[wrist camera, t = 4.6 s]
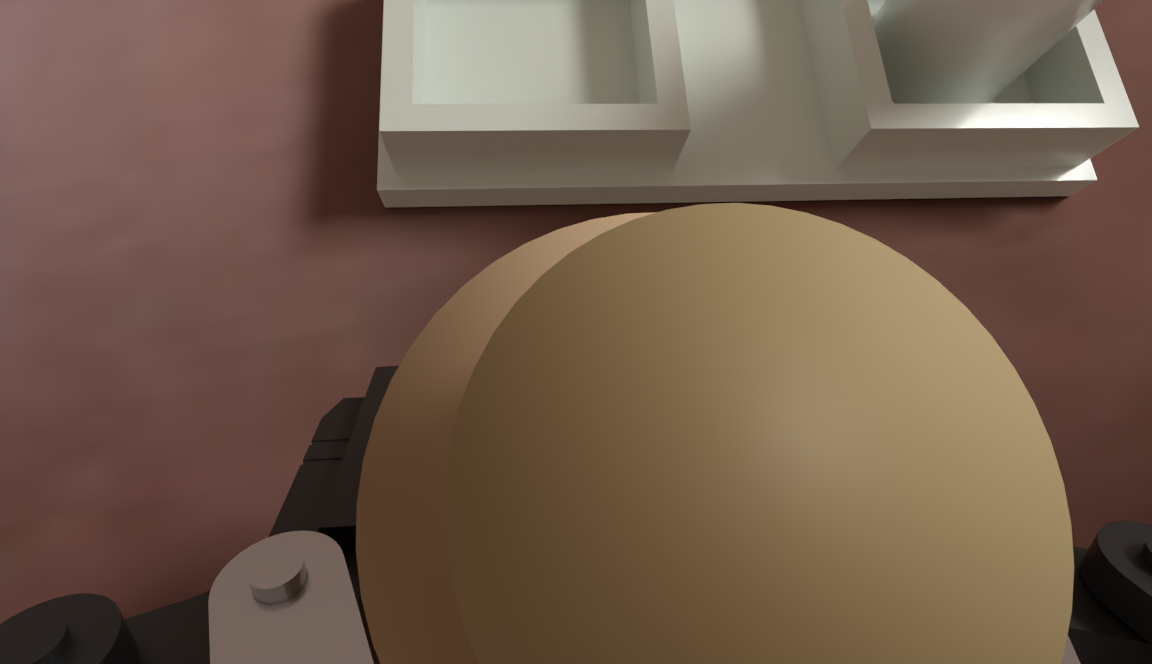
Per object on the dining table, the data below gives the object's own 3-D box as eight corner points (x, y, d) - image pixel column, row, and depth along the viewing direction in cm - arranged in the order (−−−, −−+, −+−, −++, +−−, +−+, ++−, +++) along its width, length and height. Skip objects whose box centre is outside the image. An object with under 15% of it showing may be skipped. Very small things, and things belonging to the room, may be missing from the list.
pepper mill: (552, 391, 17) (643, -47, 4) (689, 494, 16) (1344, 395, 3) (443, 532, 15) (10, 606, 2) (588, 649, 15) (1006, 1516, 2)
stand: (384, 207, 18) (357, 148, 15) (392, -32, 20) (370, -122, 18) (1070, 196, 20) (1161, 142, 17) (998, -21, 23) (1067, -99, 20)
